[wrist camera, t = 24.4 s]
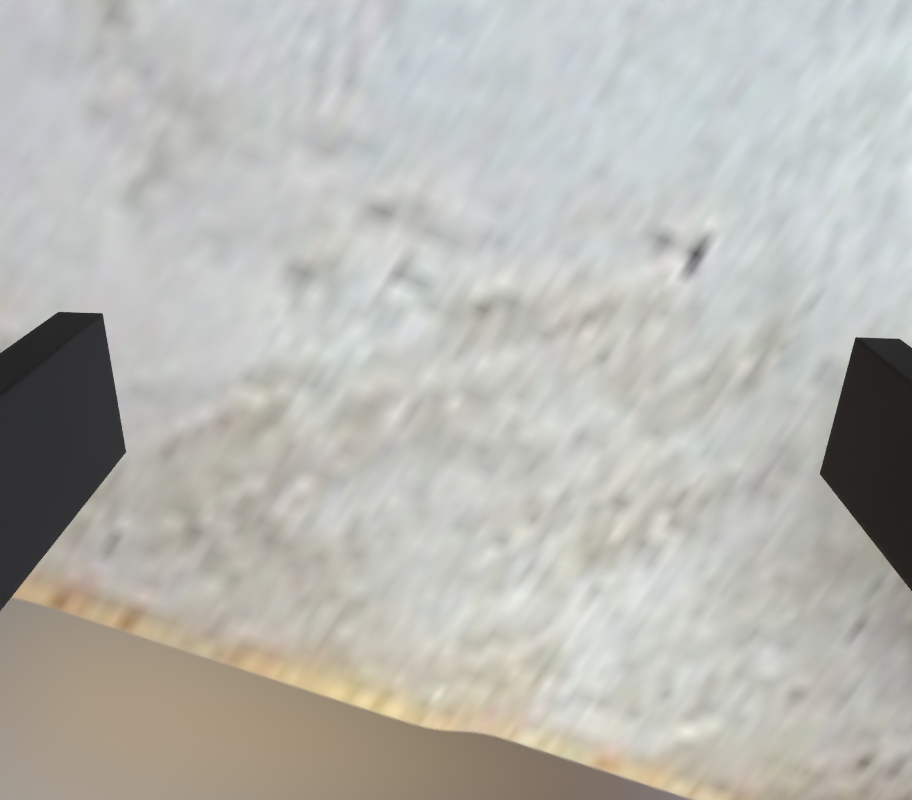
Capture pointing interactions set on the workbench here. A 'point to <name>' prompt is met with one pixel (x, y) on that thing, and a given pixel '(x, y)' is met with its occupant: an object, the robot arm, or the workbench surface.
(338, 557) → the workbench surface
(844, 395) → the robot arm
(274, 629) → the workbench surface
